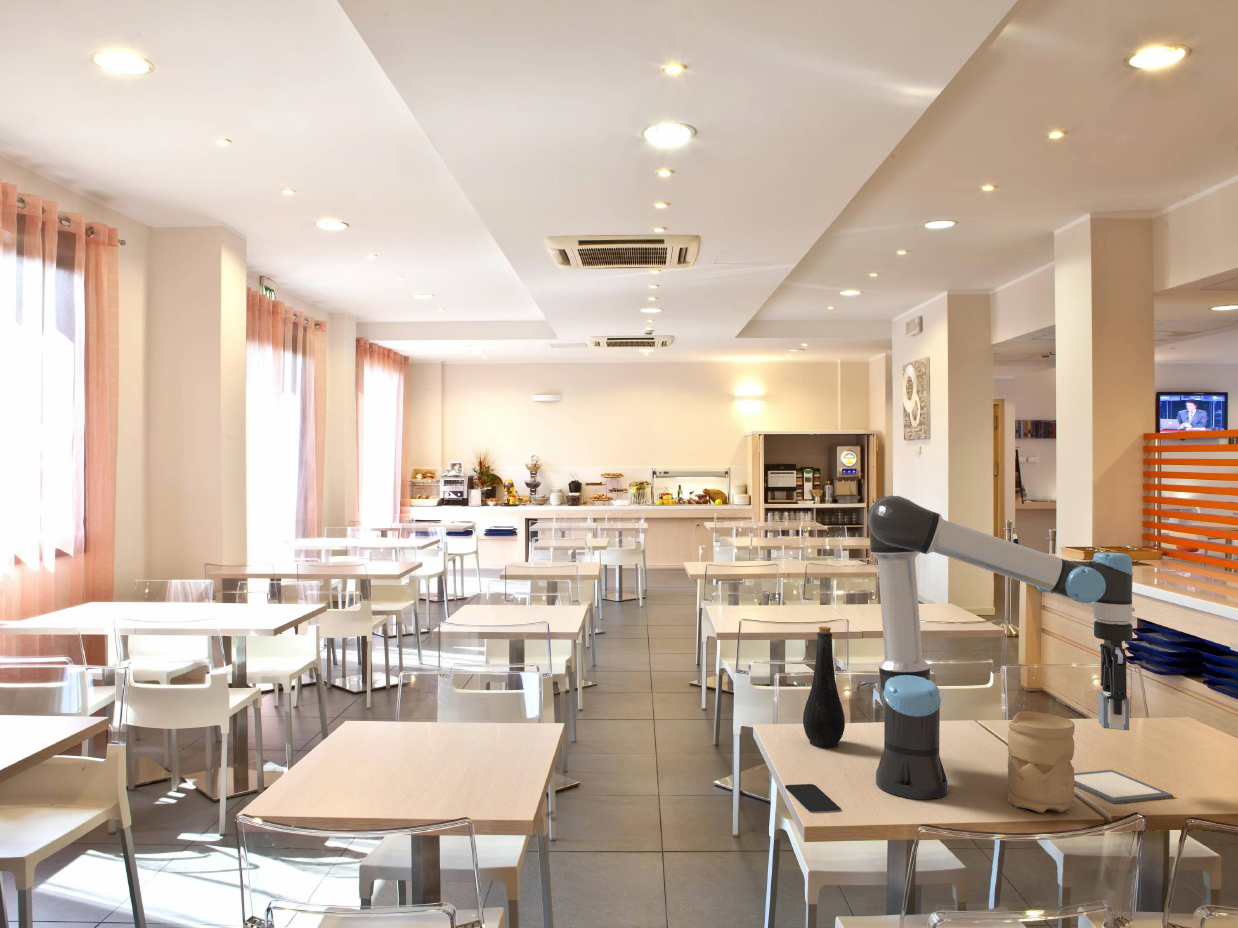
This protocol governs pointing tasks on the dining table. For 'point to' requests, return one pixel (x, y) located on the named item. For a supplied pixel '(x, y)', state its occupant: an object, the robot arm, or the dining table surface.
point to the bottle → (824, 698)
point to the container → (1040, 762)
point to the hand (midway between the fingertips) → (1113, 724)
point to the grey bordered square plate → (1117, 787)
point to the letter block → (1104, 710)
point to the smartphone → (812, 798)
